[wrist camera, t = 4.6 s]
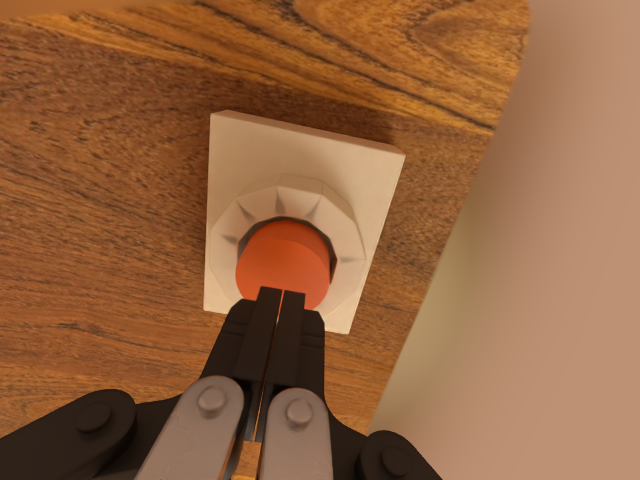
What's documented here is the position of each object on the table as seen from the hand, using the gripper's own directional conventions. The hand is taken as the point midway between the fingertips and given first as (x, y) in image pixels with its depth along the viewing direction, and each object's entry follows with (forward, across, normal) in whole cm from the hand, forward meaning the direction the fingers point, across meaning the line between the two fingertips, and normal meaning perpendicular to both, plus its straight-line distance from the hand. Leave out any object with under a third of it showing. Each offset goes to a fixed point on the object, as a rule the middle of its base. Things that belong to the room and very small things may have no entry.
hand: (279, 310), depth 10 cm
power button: (+3, 0, 0) cm, 3 cm away
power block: (+7, 0, 0) cm, 7 cm away
